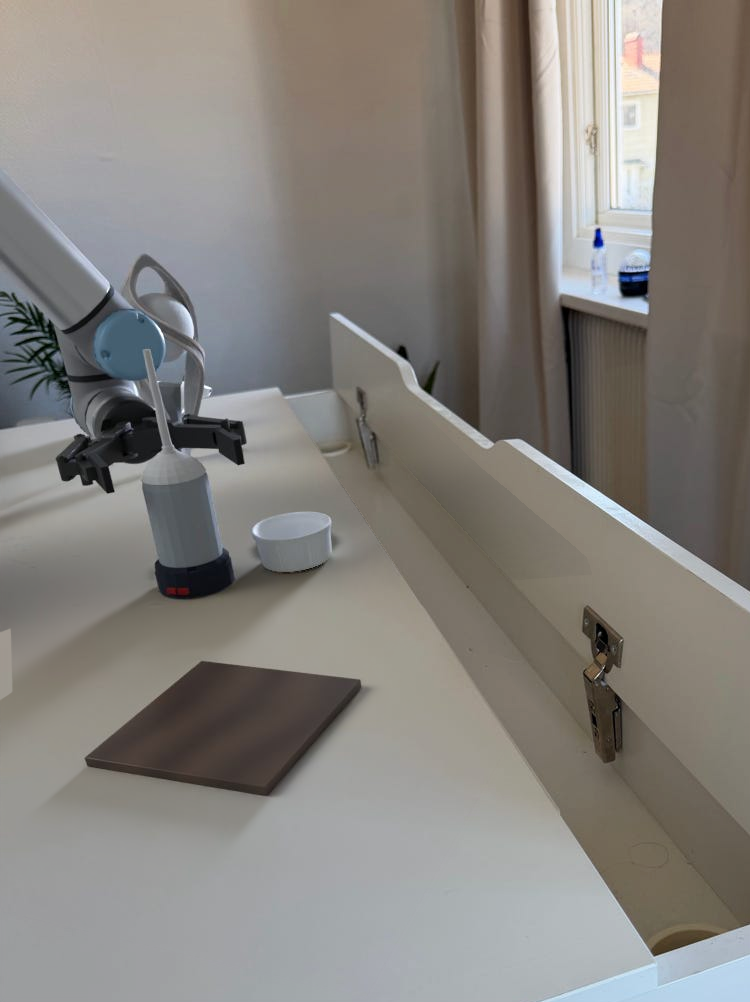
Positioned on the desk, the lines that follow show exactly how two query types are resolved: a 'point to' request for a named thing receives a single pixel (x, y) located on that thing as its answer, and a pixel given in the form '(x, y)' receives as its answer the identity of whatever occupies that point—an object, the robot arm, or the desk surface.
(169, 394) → the dark grey angular block
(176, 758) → the mat
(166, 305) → the sculpture
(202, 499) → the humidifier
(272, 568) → the ramekin
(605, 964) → the desk surface
